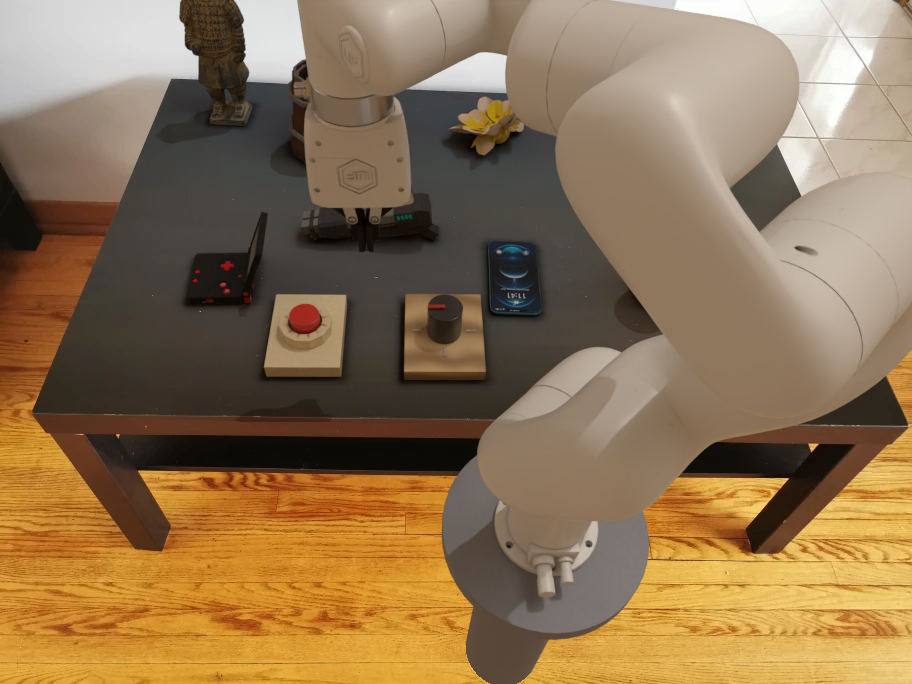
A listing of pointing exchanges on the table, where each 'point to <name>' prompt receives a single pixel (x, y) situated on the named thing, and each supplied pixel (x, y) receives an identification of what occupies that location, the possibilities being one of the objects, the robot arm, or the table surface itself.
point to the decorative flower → (489, 123)
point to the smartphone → (513, 278)
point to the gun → (391, 224)
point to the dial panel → (443, 359)
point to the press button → (304, 318)
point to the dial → (444, 319)
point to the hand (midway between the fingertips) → (367, 243)
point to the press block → (307, 338)
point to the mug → (298, 111)
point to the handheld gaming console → (227, 273)
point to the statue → (219, 55)
